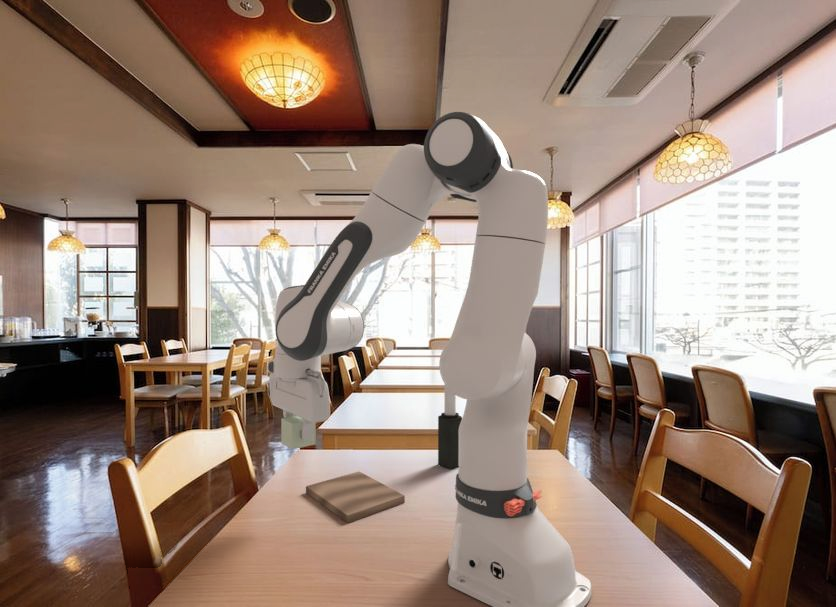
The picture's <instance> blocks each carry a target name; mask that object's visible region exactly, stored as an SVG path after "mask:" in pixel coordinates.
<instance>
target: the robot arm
mask: <svg viewBox="0 0 836 607" xmlns="http://www.w3.org/2000/svg"><path fill="white" fill-rule="evenodd" d="M548 194H549V193H548V187H547V184H546V182H545V181H544V180H543V178H542V177H540V176H539V175H538V174H536V173H534V172H532V171H529V170H525V169H517V168H514V164H513V160H512V157H511V156H510V153H509V152H508V151H507V150H506V148H505V147H504V145H503V142H502V141H501V139H500V137H498V135H497V134H496V133H495V132H494V131H493V130H492V129H491V128H490V127H489V126H488V124H486V122H485V121H483V119H481V118H479V117H478V116H475V115H474V114H471V113H467V112H465V111H453V112H449V113H446V114H443V115H442V116H440V117H439V118H438V119H437V120H436V121H434V122H433V124H432V125H431V126H430V127H429V129H428V130H427V133H426V135H425V138H424V142H423V144H422V145H421V144H416V143H410V144H409V143H408V144H406V145H403V146H402V147H400V148H399V149H398V150H397V151H396V152H395V154H394V155H393V157H392V158H391V159H390V160H389V162H388V163H387V164H386V165H385V167H384V170H382V172H381V174H380V175H379V177H378V179H377V180H376V182H375V184H374V186H373V188H372V189H371V191H370V193H369V195H368V196H367V199H366V200H365V202H364V203H363V205H362V207H361V208H360V209H359V211H358V212H357V214H356V215H355V216H354V218H353V219H352V220H351V221H350V222H349V223H348V224H346V226H344V227H343V229H342V230H341V231H340V232H339V233H338V234H337V235H336V237H335V238H334V240H333V241H332V242H331V243H330V246H329V247H328V248H327V250H326V251H325V253H324V254H323V256H322V258H321V259H320V261H319V262H318V264H317V265H316V267H315V268H314V270H313V272H311V274H310V276H309V278H308V280H306V282H305V284H301V285H293V286H289V287H285V288H284V289H283V290H281V291H280V292H279V294H278V296H277V300H276V307H275V319H274V321H275V323H274V324H275V328H274V329H275V330H274V331H275V336H276V340H277V343H276V344H277V345H276V347H275V354H274V356H275V357H274V358H273V359H272V360H269V361H268V362H267V364H266V367H267V369H266V370H267V372H268V373H269V376H268V377H269V380H268V382H269V383H268V385H269V388H268V389H269V399H270V402H271V405H272V406H273V407H276V408H278V409H281V410H282V413H283V414H282V415H283V418H287V417H293V416H298V417H301V418H302V423H303V427H302V430H300V438H301V439H302V440H304V441H306V440H310V439H311V438H312V429H313V426H314V424H315V423H316V424H317V423H321V422H326V421H328V420H329V419H330V416H331V401H330V391H329V386H328V383H327V381H326V380H325V378H323V376H322V356H324V355H331V354H335V353H340V352H344V351H348V350H350V349H353V348H355V347H356V346H357V345H359V343H360V342H361V341H362V339H363V336H364V331H365V324H364V317H363V315H362V313H361V312H360V311H359V309H358V308H357V307H356V306H355V305H352V304H350V303H346V302H343V301H340V299H342V297H343V294H344V293H346V291H347V289H348V287H349V286H350V284H351V282H352V281H353V280H354V278H356V276H357V274H359V272H361V271H362V270H363V269H364V268H366V267H368V266H369V265H371V264H373V263H376V262H378V261H380V260H384V259H386V258H390V257H394V256H397V255H399V254H402V253H404V252H405V251H406V250H408V248H410V246H411V245H412V244H413V243H414V242H415V240H416V239H417V238H418V236H419V234H420V233H421V231H422V230H423V228H424V226H425V224H426V222H427V220H428V218H429V217H430V215H431V213H432V211H433V209H434V207H435V206H436V205H437V203H438V202H439V201H440V200H441V199H442V198H444V197H445V196H448V195H450V196H451V198H454V199H457V200H464V201H469V202H472V203H476V204H477V208H478V219H477V220H478V221H477V226H476V234H475V240H474V241H475V242H474V246H473V254H472V258H471V267H470V273H469V279H468V283H467V288H466V291H465V294H464V299H463V302H462V304H461V307H460V309H459V313H458V316H457V318H456V321H455V324H454V327H453V330H452V332H451V336H450V337H449V340H448V341H447V343H446V344H445V346H444V348H443V349H442V351H441V354H440V357H439V364H438V366H439V374H440V377H441V379H442V382H443V383H444V386H445V385H446V386H447V388H448V389H449V390H450V391H451V392H452V393H453V394H455V395H456V397H458V398H461V399H464V400H466V403H465V408H464V411H463V415H462V420H461V423H460V426H459V467H458V472H457V474H456V475H455V476H456V477H455V485H454V489H455V499H456V502H457V508H456V517H455V525H454V530H453V532H454V533H453V540H452V544H451V548H450V552H449V555H448V558H447V560H448V562H447V563H448V568H449V572H448V575H447V585H448V586H449V587H452V588H453V589H456V590H457V591H460V592H461V593H464V594H466V595H468V596H470V597H472V598H474V599H476V600H478V601H480V602H482V603H484V604H487V605H489V606H491V607H585V606H586V605H587V604H588V603H589V601H590V600H591V597H592V584H591V581H590V579H589V578H587V577H586V576H585V575H583V574H581V573H579V571H577V570H576V567H575V566H576V565H575V559H574V554H573V550H572V547H571V546H570V544H569V543H568V542H567V540H566V539H565V538H564V537H563V536H562V535H561V534H560V533H559V531H558V530H557V528H555V527H554V525H553V524H552V523H551V522H550V521H549V519H548V518H547V517H546V516H545V515H544V514H543V513H542V512H541V510H540V509H539V508H538V507H537V504H538V503H537V500H539V499H541V498H542V495H541V494H542V489H541V490H538V491H535V492H534V491H533V487H532V485H531V482H530V479H529V478H528V474H527V473H528V429H529V428H528V426H529V418H530V410H531V406H532V405H531V403H532V396H533V386H534V385H533V384H534V376H535V375H534V374H535V373H534V372H535V364H536V360H537V359H536V358H537V350H536V346H535V343H534V341H533V340H532V338H531V337H530V335H529V334H527V333H526V330H527V325H528V322H529V318H530V317H531V316H530V315H531V313H532V309H533V306H534V304H535V301H536V299H537V298H538V293H539V287H540V281H541V276H542V268H543V262H544V254H545V249H546V242H547V234H548V224H549V221H548V220H549V196H548Z"/></svg>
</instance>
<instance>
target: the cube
mask: <svg viewBox="0 0 836 607" xmlns="http://www.w3.org/2000/svg"><path fill="white" fill-rule="evenodd" d="M280 420H281V425H280V426H281V428H280V429H281V430H280V431H281V432H280V433H281V434H280V435H281V436H280V438H281V439H280V440H281V441H280V442H281V444H282V445H283V446H285V447H287V448H288V449H291V450H298V449H301V448H304V447H310V446H315V445H316V442H317V441H316V438H317V437H316V435H317V432H316V431H317V429H316V426H317V423H315V424H314V426H313V429H312V438H311V439H310V440H306V441H304V440H302V439H301V438H300V430H302V427H303V423H302V418H301V417H298V416H296V415H295V416H293V417H287V418H284V417H282V418H281V419H280Z"/></svg>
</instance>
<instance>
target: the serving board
mask: <svg viewBox="0 0 836 607" xmlns="http://www.w3.org/2000/svg"><path fill="white" fill-rule="evenodd" d="M305 494H307V495H309V497H311V498H313V499H314V500H315V501H316V502H318V503H319V504H321V505H322V506H324V507H325V508H327V509H328V510H329V511H330V512H332V513H333V514H335V515H336V516H337V517H339V518H340V519H342V521H344V522H345V523H347V524H349V523H351V522H354V521H357V520H360V519H363V518H365V517H368V516H371V515H374V514H377V513H380V512H382V511H385V510H388V509H391V508H394V507H396V506H399V505H401V504H404V503H405V502H406V500H405V499H406V498H405V496H406V495H404V494H403V493H401V492H398V491H396V490H395V489H393V488H391V487H390V486H387V485H385V484H384V483H382V482H380V481H378V480H376V479H374V478H373V477H371V476H369V475H366V474H365V473H363V472H361V471H355V472H352V473H349V474H345V475H342V476H338V477H334V478H330V479H326V480H323V481H320V482H317V483H313V484H309V485H306V486H305Z"/></svg>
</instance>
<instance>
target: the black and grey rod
mask: <svg viewBox="0 0 836 607" xmlns="http://www.w3.org/2000/svg"><path fill="white" fill-rule="evenodd" d="M456 397H457V396H456V395H455V394H453V393H452V392H451V391H450V390H449V389H448V388H447V386H446V385H445V384H444V412H442V413H441V415H438V416H437V422H438V423H437V425H438V427H437V430H438V431H437V437H438V438H437V466H439V465H440V466H439V467H441V466H442V467H441V468H444V467H445V468H444V469H446V468H447V470H454V469H456V468H459V467H458V466H459V426H460V423H461V420H462V418H463V416H462V415H460V414H459V412H456V410H457V409H456V408H457V404H456ZM455 467H456V468H455Z"/></svg>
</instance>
